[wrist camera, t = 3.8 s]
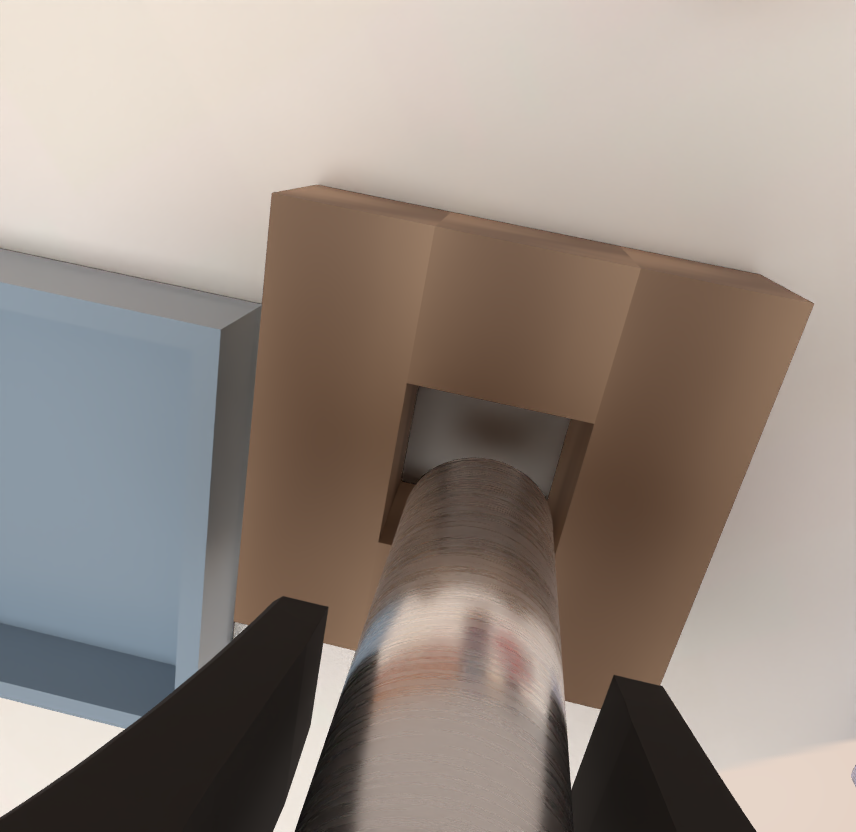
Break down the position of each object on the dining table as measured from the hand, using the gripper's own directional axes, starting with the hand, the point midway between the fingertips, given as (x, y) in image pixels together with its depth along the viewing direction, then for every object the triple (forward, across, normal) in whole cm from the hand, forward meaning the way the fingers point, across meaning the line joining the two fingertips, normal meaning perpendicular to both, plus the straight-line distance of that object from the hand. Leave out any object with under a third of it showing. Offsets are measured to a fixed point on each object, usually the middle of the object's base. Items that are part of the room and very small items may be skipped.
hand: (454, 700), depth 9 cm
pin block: (+9, 0, 0) cm, 9 cm away
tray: (+9, +12, +4) cm, 16 cm away
